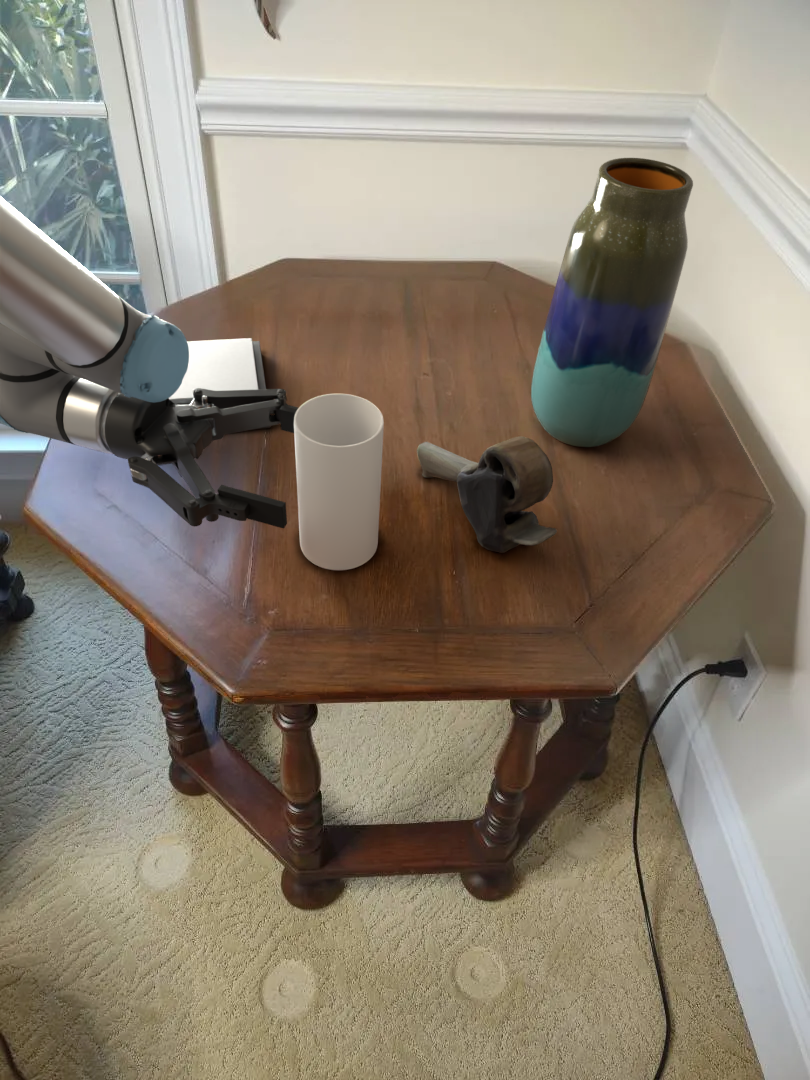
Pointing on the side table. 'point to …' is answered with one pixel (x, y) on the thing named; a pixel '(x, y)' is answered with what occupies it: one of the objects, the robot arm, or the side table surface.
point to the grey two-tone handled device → (497, 489)
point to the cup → (338, 479)
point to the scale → (221, 368)
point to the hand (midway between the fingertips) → (313, 471)
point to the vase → (612, 302)
